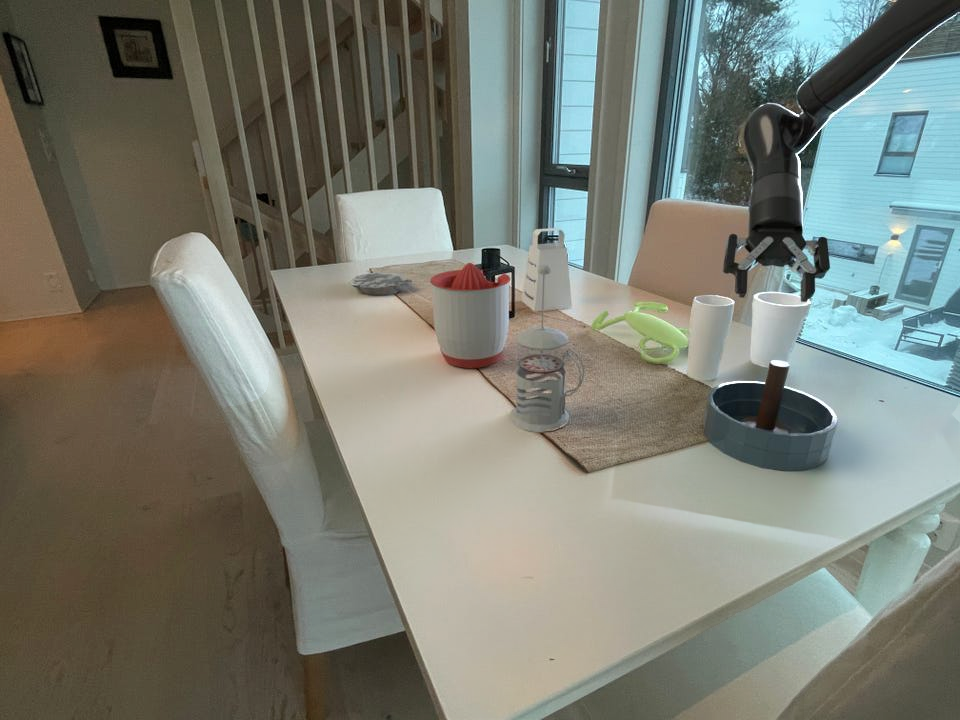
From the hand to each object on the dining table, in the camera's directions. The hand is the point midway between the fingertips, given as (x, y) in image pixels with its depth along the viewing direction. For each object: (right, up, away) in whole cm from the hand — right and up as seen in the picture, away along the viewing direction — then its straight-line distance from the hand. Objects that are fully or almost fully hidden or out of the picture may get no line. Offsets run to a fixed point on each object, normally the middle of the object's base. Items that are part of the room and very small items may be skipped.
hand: (773, 297), depth 78 cm
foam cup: (+12, -10, +24) cm, 29 cm away
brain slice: (-75, +12, +79) cm, 110 cm away
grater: (-27, +6, +62) cm, 68 cm away
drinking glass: (-3, -13, +18) cm, 23 cm away
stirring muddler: (-3, -21, -2) cm, 21 cm away
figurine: (-7, -5, +37) cm, 38 cm away
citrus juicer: (-46, -9, +29) cm, 55 cm away
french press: (-34, -19, +6) cm, 40 cm away
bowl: (-3, -22, -2) cm, 22 cm away
